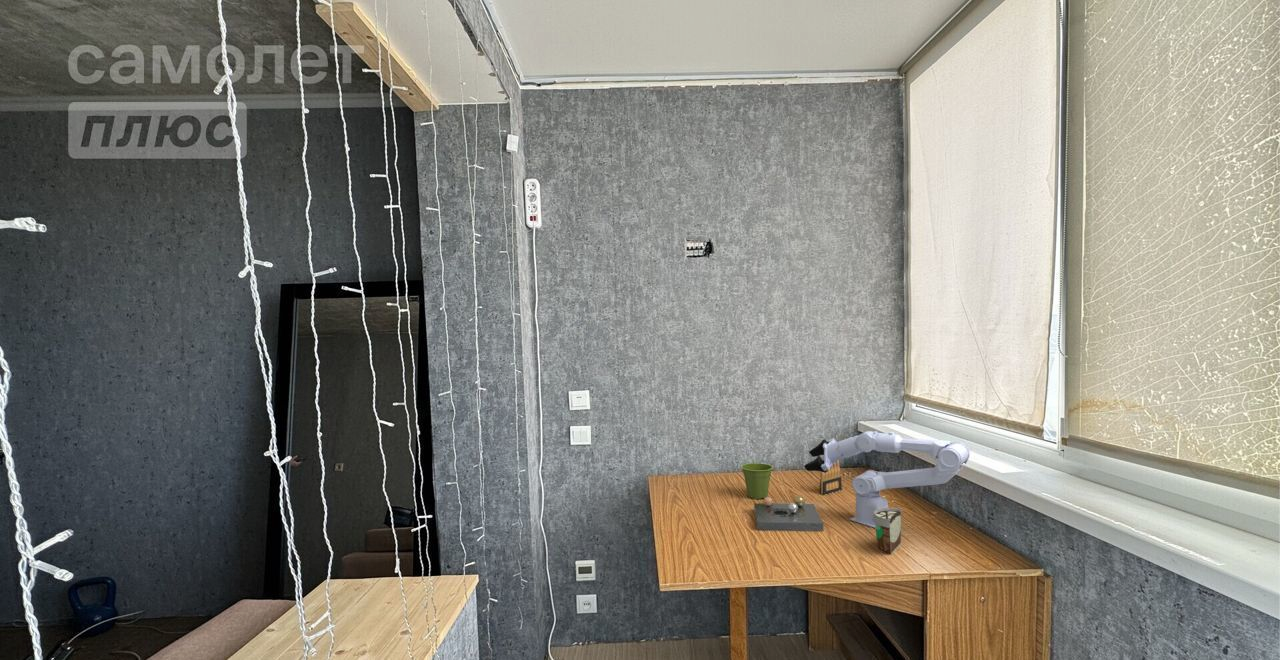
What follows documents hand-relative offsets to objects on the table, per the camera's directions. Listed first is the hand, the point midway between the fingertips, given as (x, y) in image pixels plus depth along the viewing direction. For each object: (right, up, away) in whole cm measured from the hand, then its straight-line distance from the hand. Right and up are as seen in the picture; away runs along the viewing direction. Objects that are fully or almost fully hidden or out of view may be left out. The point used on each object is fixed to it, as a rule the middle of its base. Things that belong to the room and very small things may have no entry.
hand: (808, 461), depth 204 cm
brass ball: (-4, -13, -4) cm, 14 cm away
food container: (+12, -17, -34) cm, 40 cm away
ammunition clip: (+14, -16, +19) cm, 29 cm away
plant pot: (-14, -17, +17) cm, 28 cm away
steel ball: (-8, -13, -10) cm, 18 cm away
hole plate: (-10, -17, -10) cm, 22 cm away
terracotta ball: (-15, -13, -2) cm, 20 cm away
